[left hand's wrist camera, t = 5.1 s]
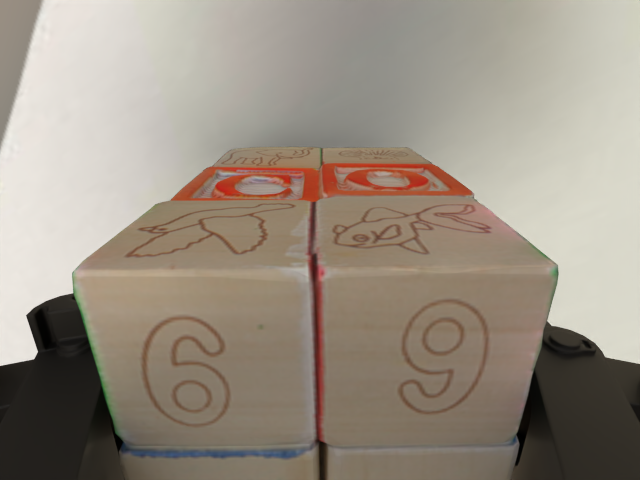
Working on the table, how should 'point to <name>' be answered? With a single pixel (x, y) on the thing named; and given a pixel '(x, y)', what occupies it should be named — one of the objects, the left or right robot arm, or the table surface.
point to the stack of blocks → (317, 323)
